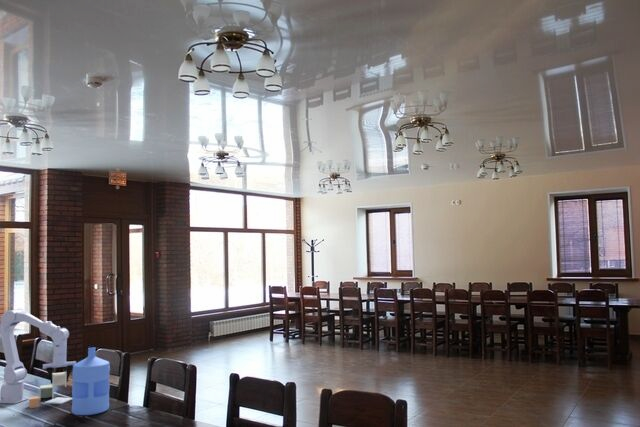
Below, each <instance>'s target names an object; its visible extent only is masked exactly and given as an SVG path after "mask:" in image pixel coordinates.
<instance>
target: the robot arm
mask: <svg viewBox="0 0 640 427" xmlns="http://www.w3.org/2000/svg"><path fill="white" fill-rule="evenodd" d="M22 322H24V323H27V324H29V325H31V326H34V327H36V328H38V330H39V332H40V333H42V334H44V335H46V336H48V337H50V338H51V340H52V341H53V352H52V353H53V356H52V357H53V360H52V362H49V363H44V364H43V363H42V370H45V369H46V372H47V375H48V376H49V380H50V385H51V384H52V373H53V369H54V368H63V367H65V368H66V374H67V378H66V383H68V382H69V377H70V375H71V372H72V371H73V365H74V364H76V363H77V361H76V360H73V361H67V352H68V350H67V349H68V348H67V347H68V346H67V344H68V343H67V342H68V338H69V337H70V331H69V330H68V329H67V328H66V327H61V326H60V325H58V326H57V325H56V324H54V323H53V322H52V321H51V320H49V321H47V320H45V321H43V320H41V319H39V318H38V317H36V316H34V315H32V314H31V313H29V311H26V310H24V309H22V308H16V309H12V310H9V309H8V310H5V312H3V314H2V315H1V316H0V338H1V343H2V348H3V354H4V357H5V363H6V365H5V367H4V368H3V372H4V373H3V380H4V383H2V384H1V387H0V404H15V405H16V404H18V403H21V402H23V401H26V400H28V398H26V397H25V398H24V384H25V383H24V381H25V378H26V377H27V375H28V370H27V369H26V368H25V366H24V363H23V362H22V361H20V357H19V353H18V352H19V351H18V347H17V343H16V337H15V334H14V329H15V328H16V327H17V325H18V324H20V323H22Z"/></svg>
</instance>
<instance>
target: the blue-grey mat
mask: <svg viewBox="0 0 640 427" xmlns="http://www.w3.org/2000/svg"><path fill="white" fill-rule="evenodd" d="M70 401H72V397H61V396H60V397H58V396H57V397H55V398H54V397H53V399H52V398H51V399H49V400H47V401H44V404H49V405H50V404H53V405H62V404H65V403H68V402H70Z"/></svg>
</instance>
